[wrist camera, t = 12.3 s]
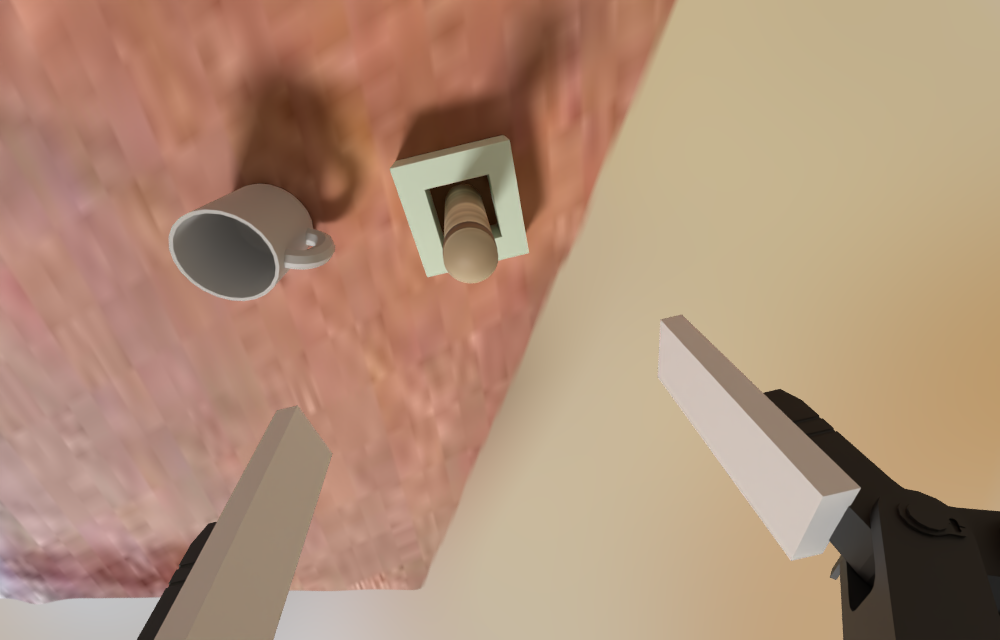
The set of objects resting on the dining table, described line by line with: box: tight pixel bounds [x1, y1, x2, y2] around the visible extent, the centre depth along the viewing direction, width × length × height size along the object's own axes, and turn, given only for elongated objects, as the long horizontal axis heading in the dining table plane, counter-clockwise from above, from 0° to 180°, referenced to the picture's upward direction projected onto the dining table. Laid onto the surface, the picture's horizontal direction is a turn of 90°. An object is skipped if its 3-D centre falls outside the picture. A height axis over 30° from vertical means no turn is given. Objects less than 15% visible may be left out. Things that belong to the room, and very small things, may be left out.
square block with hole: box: [390, 135, 529, 277], centre depth 34 cm, size 10×10×4 cm
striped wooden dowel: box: [443, 184, 498, 283], centre depth 30 cm, size 4×4×14 cm
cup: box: [169, 184, 335, 301], centre depth 31 cm, size 7×10×9 cm
